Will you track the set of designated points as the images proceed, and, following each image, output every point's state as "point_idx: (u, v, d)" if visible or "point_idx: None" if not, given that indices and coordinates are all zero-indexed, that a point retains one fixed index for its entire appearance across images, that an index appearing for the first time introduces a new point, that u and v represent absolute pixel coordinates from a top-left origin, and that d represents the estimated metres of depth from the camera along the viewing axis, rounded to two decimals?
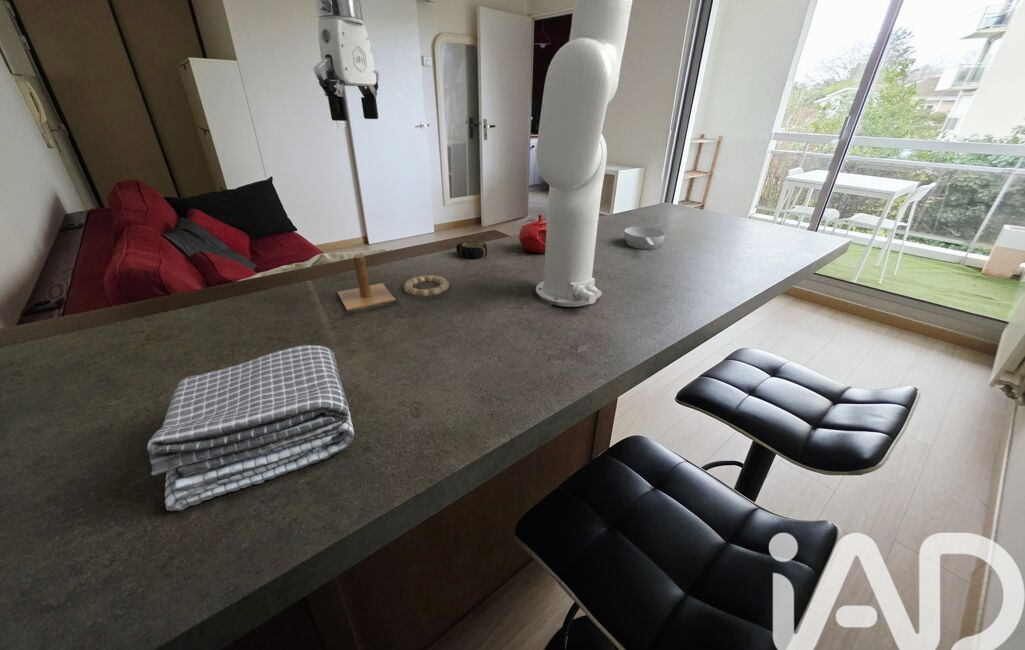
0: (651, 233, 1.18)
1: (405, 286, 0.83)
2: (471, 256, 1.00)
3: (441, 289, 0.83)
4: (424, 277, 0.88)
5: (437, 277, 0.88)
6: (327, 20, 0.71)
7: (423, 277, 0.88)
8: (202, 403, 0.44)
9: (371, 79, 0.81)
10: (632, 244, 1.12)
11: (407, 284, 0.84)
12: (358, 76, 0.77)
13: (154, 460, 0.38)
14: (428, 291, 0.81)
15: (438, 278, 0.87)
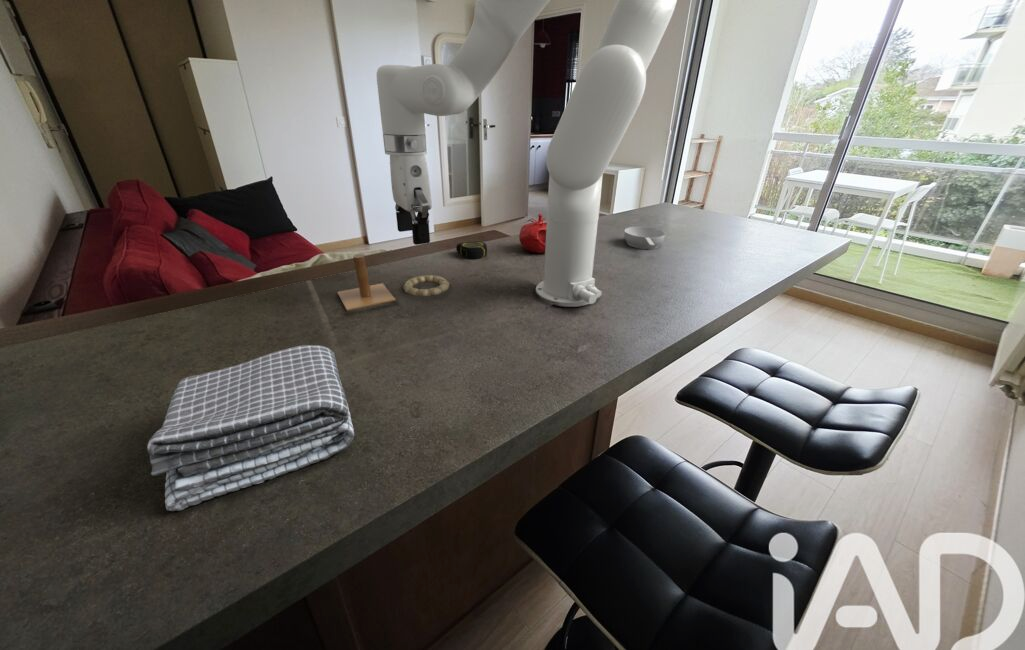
0: (651, 233, 1.18)
1: (405, 286, 0.83)
2: (471, 256, 1.00)
3: (441, 289, 0.83)
4: (424, 277, 0.88)
5: (437, 277, 0.88)
6: (418, 157, 0.73)
7: (423, 277, 0.88)
8: (202, 403, 0.44)
9: None
10: (632, 244, 1.12)
11: (407, 284, 0.84)
12: None
13: (154, 461, 0.38)
14: (428, 291, 0.81)
15: (438, 278, 0.87)
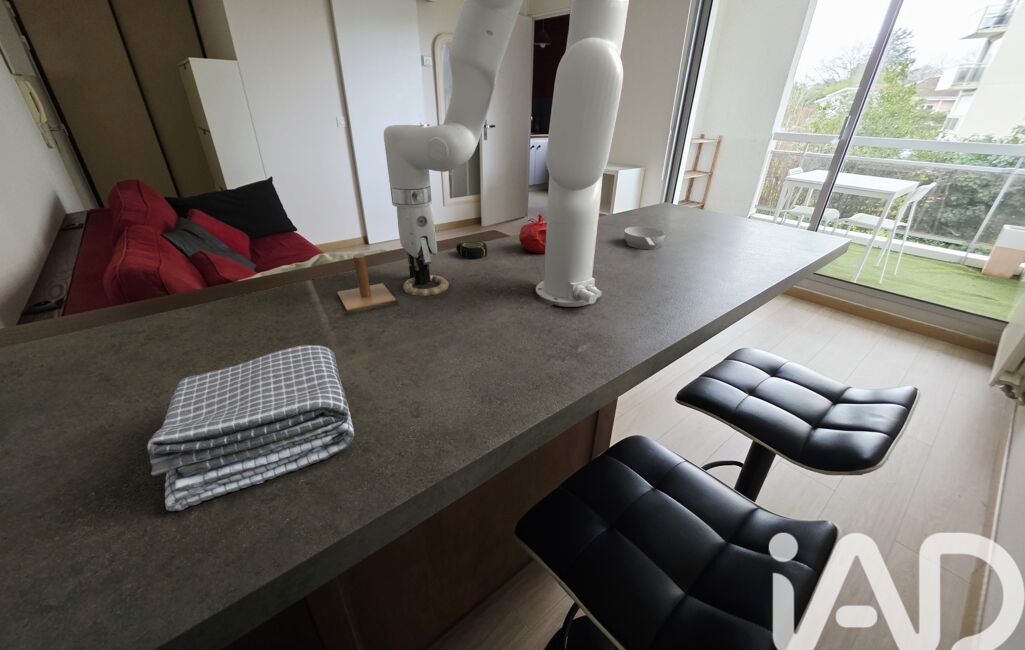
0: (651, 233, 1.18)
1: (404, 286, 0.84)
2: (471, 256, 1.00)
3: (441, 289, 0.83)
4: None
5: (437, 277, 0.88)
6: (423, 208, 0.77)
7: None
8: (202, 403, 0.44)
9: None
10: (632, 244, 1.12)
11: (407, 284, 0.84)
12: None
13: (154, 461, 0.38)
14: (428, 291, 0.81)
15: (438, 278, 0.87)
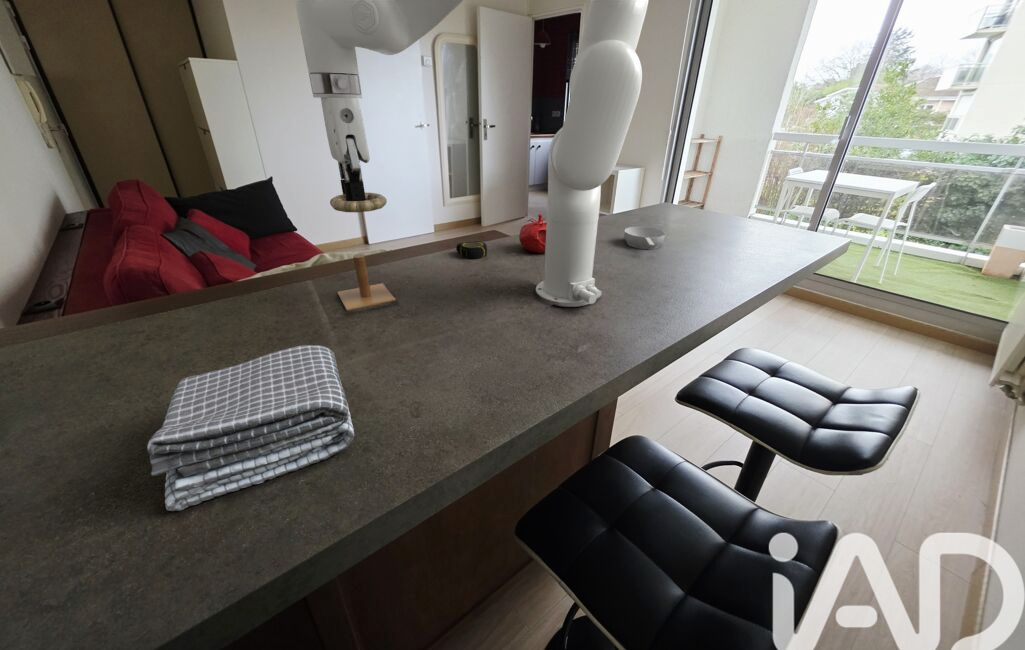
0: (651, 233, 1.18)
1: (331, 199, 0.71)
2: (471, 256, 1.00)
3: (374, 202, 0.70)
4: None
5: (373, 194, 0.75)
6: (348, 99, 0.65)
7: None
8: (202, 403, 0.44)
9: None
10: (632, 244, 1.12)
11: (335, 197, 0.72)
12: None
13: (154, 461, 0.38)
14: (357, 203, 0.69)
15: (374, 194, 0.75)
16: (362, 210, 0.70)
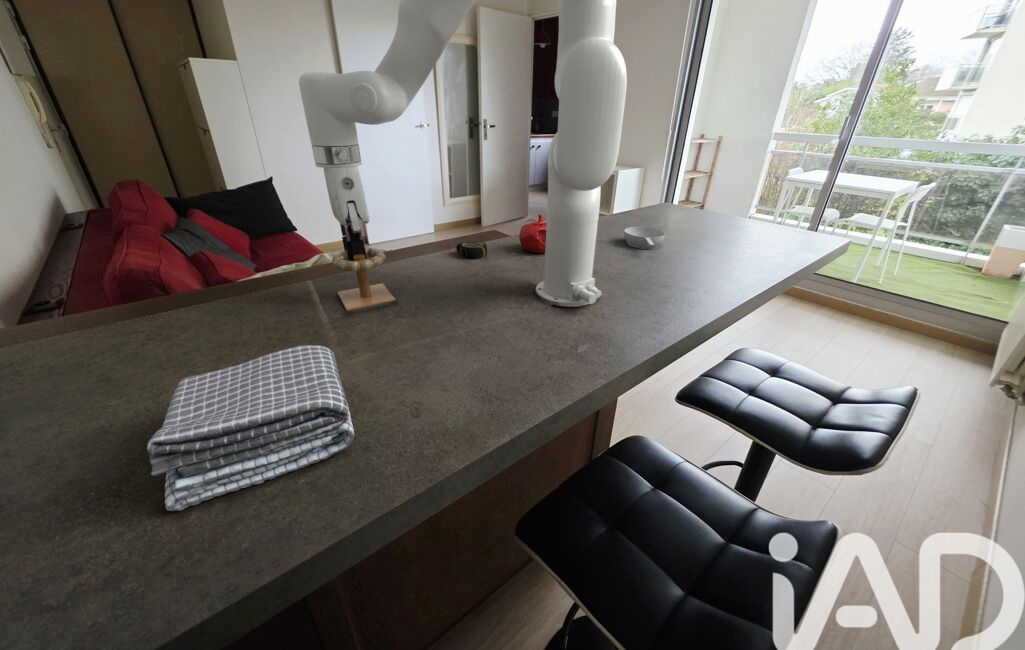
0: (651, 233, 1.18)
1: (334, 258, 0.75)
2: (471, 256, 1.00)
3: (373, 261, 0.75)
4: None
5: (373, 249, 0.79)
6: (348, 169, 0.69)
7: None
8: (202, 403, 0.44)
9: None
10: (632, 244, 1.12)
11: (337, 256, 0.76)
12: None
13: (154, 461, 0.38)
14: (358, 263, 0.73)
15: (374, 250, 0.79)
16: (363, 269, 0.74)
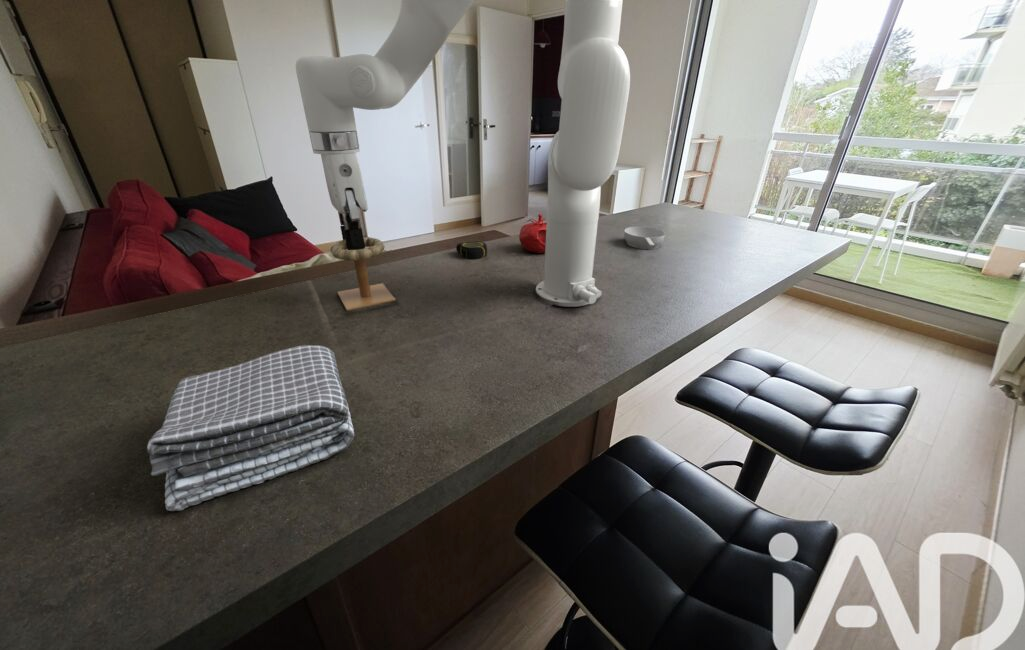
0: (651, 233, 1.18)
1: (332, 247, 0.74)
2: (471, 256, 1.00)
3: (372, 250, 0.74)
4: None
5: (371, 239, 0.78)
6: (346, 155, 0.68)
7: None
8: (202, 403, 0.44)
9: None
10: (632, 244, 1.12)
11: (335, 245, 0.75)
12: None
13: (154, 461, 0.38)
14: (356, 252, 0.72)
15: (372, 240, 0.78)
16: (361, 258, 0.73)
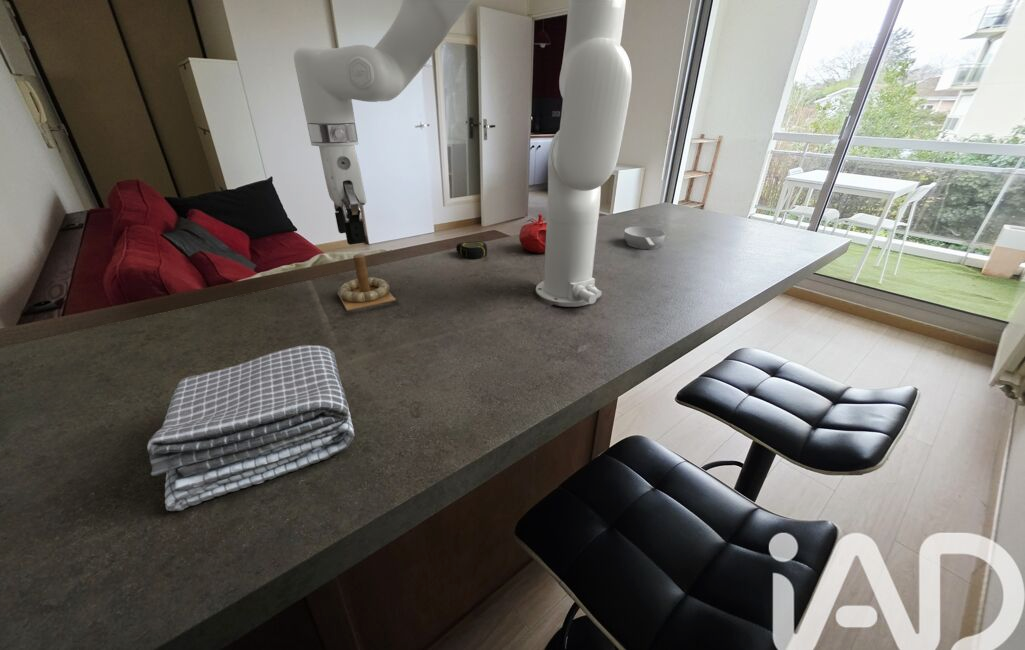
0: (651, 233, 1.18)
1: (340, 289, 0.79)
2: (471, 256, 1.00)
3: (378, 292, 0.78)
4: None
5: (377, 279, 0.83)
6: (345, 147, 0.68)
7: None
8: (202, 403, 0.44)
9: None
10: (632, 244, 1.12)
11: (343, 287, 0.79)
12: None
13: (154, 461, 0.38)
14: (363, 294, 0.77)
15: (378, 280, 0.83)
16: (367, 300, 0.78)
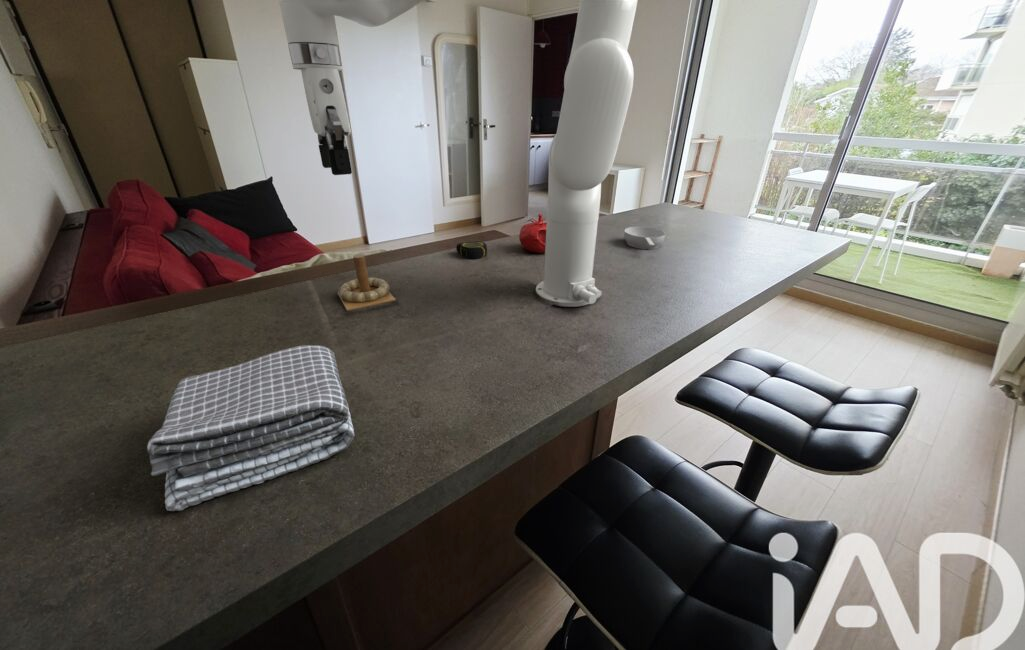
0: (651, 233, 1.18)
1: (340, 289, 0.79)
2: (471, 256, 1.00)
3: (378, 292, 0.78)
4: None
5: (377, 279, 0.83)
6: (327, 69, 0.65)
7: None
8: (202, 403, 0.44)
9: None
10: (632, 244, 1.12)
11: (343, 287, 0.79)
12: None
13: (154, 461, 0.38)
14: (363, 294, 0.77)
15: (378, 280, 0.83)
16: (367, 300, 0.78)
